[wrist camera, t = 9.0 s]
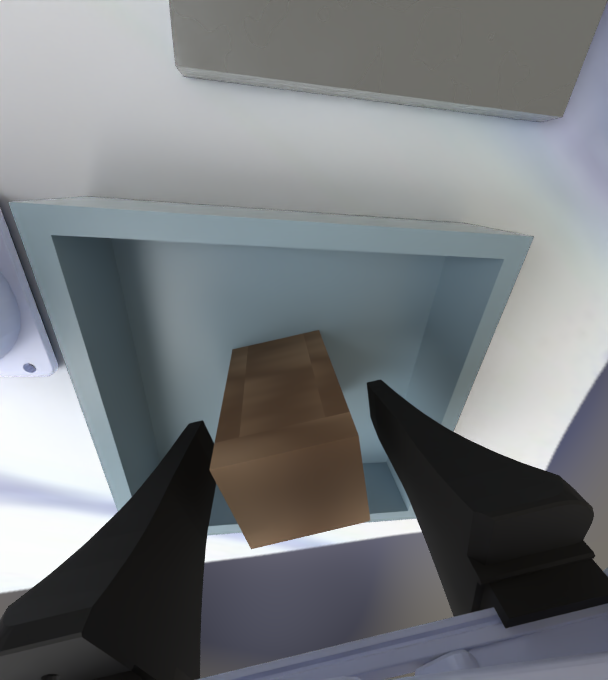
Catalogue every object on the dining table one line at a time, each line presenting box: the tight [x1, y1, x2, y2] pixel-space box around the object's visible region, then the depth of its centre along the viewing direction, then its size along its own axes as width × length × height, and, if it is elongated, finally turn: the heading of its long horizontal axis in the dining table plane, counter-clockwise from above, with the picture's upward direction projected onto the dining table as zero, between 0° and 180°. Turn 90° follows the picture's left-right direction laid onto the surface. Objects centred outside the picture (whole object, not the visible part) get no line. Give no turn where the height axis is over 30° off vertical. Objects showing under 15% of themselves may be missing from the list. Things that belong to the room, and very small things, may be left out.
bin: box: [8, 197, 534, 535], centre depth 14 cm, size 16×16×4 cm
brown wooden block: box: [209, 330, 370, 549], centre depth 13 cm, size 4×4×7 cm
